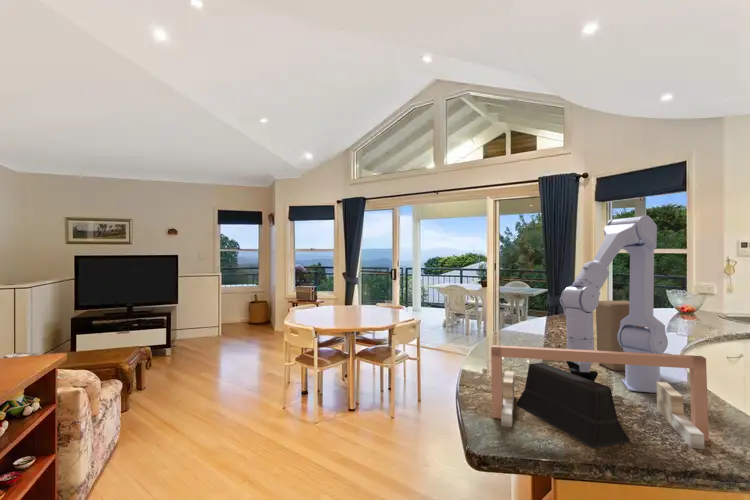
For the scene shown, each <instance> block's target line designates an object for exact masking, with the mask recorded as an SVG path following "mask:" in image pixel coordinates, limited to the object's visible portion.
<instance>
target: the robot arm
mask: <svg viewBox="0 0 750 500" xmlns="http://www.w3.org/2000/svg"><path fill="white" fill-rule="evenodd" d="M657 226H658V225H657V224H656V223H655V221H654V220H653V219H652V218H651V217H650V216H649V215H646V214H645V215H641V216H633V217H625V218H624V217H623V218H611V219H609V220H608V221H607V223H606V226H604V228H603V235H604V238H603V240H602V243H601V244H600V245H599V246H600V247H599V248H598V250H597V252H596V254H595V256H594V258H593V260H591V261H587V262H585V263H584V264H583V266H582V269H580V272H579V273H578V275H577V276H576V278H575V280H574V281H573V282H572V284H571V285H569V286H567V287H566V288H565V289H563V290H562V292H561V295H560V298H559V302H560V305H561V307H562V309H563V315H564V317H565V318H566V319H565V321H566V326H565V327H566V349H577V350H595V340H594V311H596V307H598V304H599V301H600V295H601V289H602V287H603V286H604V284H605V282H606V281H607V279H608V277H609V276H610V271H609V269H608V267H609V266H610V264H612V262H613V260H614V259H615V258H616V256H617V255H618V254H619V252H620V251H621V249H622V250H624V251H626V252H627V253H628V254H629V296H628V297H629V299H628V301H629V315H628V316H626V317H625V318H624V319H622V320H621V321H620V329H619V332H618V342H619V344H620V346H621V347H622V348H623V351H625V352H635V353H654V354H665V352H666V350H667V349H668V345H669V344H668V343H669V341H668V337H667V334H666V333H667V332H666V325H665V324H664V323H663V322H662V321H660V320H659V319H658V318H656V317H655V315H654V300H655V299H654V296H655V295H654V290H655V289H654V288H655V287H654V284H655V283H654V279H655V277H654V276H655V249H657V240H658V238H657V237H658V236H657V235H658V232H657V231H658V229H657V228H658V227H657ZM635 325H636V326H643V327H645V328H642V327H634V326H635ZM565 362H566V364H567V366H568V368H569V373H572V374H575V375H577V376H580V377H583V378H586V379H589V380H591V381H594V382H596V378H597V377H598V375H599V372H598V371H597V370H591V366H592V364H593V362H577V361H565ZM660 368H661V367H659V366H642V365H626V364H625V372H624V373H625V378H621V382H622V383H623V384H624V386H625V387H626V389H627V390H628V391H629V392H638V393H639V392H641V393H653V394H654V393H655V394H657V383H656V382H661V372H660V371H661V369H660Z"/></svg>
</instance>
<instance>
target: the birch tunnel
mask: <svg viewBox="0 0 750 500" xmlns="http://www.w3.org/2000/svg"><path fill="white" fill-rule="evenodd" d="M503 377H504V378H503V380H502V390H503V405H502V412H501V419H500V420H501V421H500V423H501V424H500V425H501V427H507V428H512V427H513V420H514V419H513V418H514V405H515V397H516V395H515V371H511V370H510V371H509V370H505V372H504V376H503ZM656 383H657V393H656V405H657V406H656V408H657V410H658V412H659V413H660V414H661V415H662V417H663V418H665V420H666V421H667V422H668V423H669V424H670V425H671V427H672V429H674V430H675V432H677V434H678V435H679V436H680V437H681V438H682V439H683V440H684V442H685V443H686V444H687V445H688V446H689V448H691V449H701V450H705V441H704V434H703V433H702V432H701V431H700V430H699V429H698V428H697V427H696V426H695V425H694V424H693V423H692V422H691V419H689V418H688V417H687V416H686V415H685V414H684V413H685V412H684V410H685V409H684V407H685V406H684V395H682V394H681V393H679V392H678V391H677V390H676V389H675V388H674V387H673V386H671V384H669V382H667V381H666V382H664V381H660V382H656Z"/></svg>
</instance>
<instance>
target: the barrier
mask: <svg viewBox="0 0 750 500" xmlns="http://www.w3.org/2000/svg"><path fill="white" fill-rule="evenodd" d="M524 387H525V388H524V389H523V391H522V393H521V394H520V397H519V398H518V400H517V402H516V403H515V405H516V407H519V408H520V409H522V410H524V411H526V412H528V413H529V414H531V415H532V416H534V417H536V418H538V419H540V420H542V421H543V422H545V423H547V424H549V425H550V426H552V427H554V428H555V429H558V430H559V431H560V432H563V433H564V434H566V435H568V436H570V437H572V438H574V439H575V440H578V441H579V442H580V443H583V444H584V445H586V446H588V447H589V448H591V449H599V448H604V447H611V446H617V445H623V444H631V443H632V441H631V440H630V438H629V436H628V434H627V433H626V431H625V429H624V428H623V427H622V424H621V423H620V421H619V420H618V415H617V412H616V411H617V410H616V406H615V401H614V396H613V394H612V388H611V387H610V386H607V385H604V384H602V383H599V382H598V381H591V380H589V379H586V378H583V377H580V376H577V375H575V374H572V373H571V372H570V371H566V370H564V369H560V368H557V367H554V366H552V365H549V364H546V363H544V362H535V363H529V364H528V370H527V374H526V381H525V386H524Z"/></svg>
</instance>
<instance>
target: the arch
mask: <svg viewBox="0 0 750 500" xmlns="http://www.w3.org/2000/svg"><path fill="white" fill-rule="evenodd" d="M490 352H491V353H490V355H491V356H490V357H491V360H490V361H491V363H490V364H491V392H492V393H491V394H492V395H491V396H492V397H491V398H492V399H491V400H492V404H491V406H492V418H493V419H500V420H501V412H502V405H503V399H504V392H503V364H502V363H503V361H502V358H516V359H528V360H529V359H531V360H546V361H547V360H548V361H563V362H564V361H565V362H566V361H577V362H593V363H595V364H599V363H610V364H626V365H642V366H659V367H660V368H661V367H663V368H678V369H679V368H680V369H688V370H689V391H690V392H689V393H690V395H689V396H690V417H691V419H690V421H691V422H692V423H693V424H694V425H695V426H696V427H697V428H698V429H699V430H700V431H701V432H702V433H703V434H704V442H710V433H709V432H710V430H709V429H710V427H709V406H708V405H709V404H708V402H709V401H708V399H709V398H708V375H707V371H708V370H707V358H706V357H704V356H703V355H690V354H689V355H688V354H687V355H686V354H674V353H673V354H672V353H671V354H670V353H663V354H654V353H635V352H615V351H597V349H596V350H595V349H594V350H577V349H567V348H555V347H537V346H536V347H535V346H518V345H517V346H516V345H515V346H514V345H497V344H495V345H494V344H492V345H490ZM593 363H592V364H593Z"/></svg>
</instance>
